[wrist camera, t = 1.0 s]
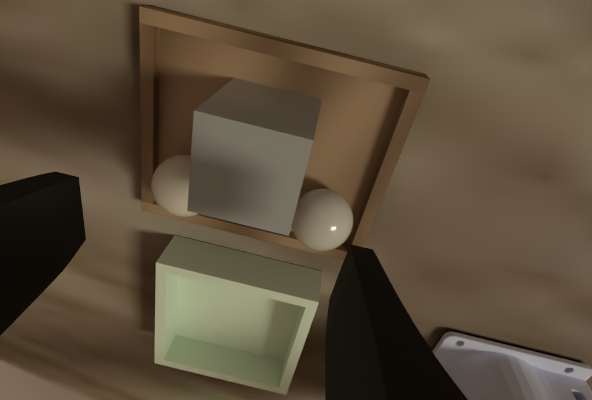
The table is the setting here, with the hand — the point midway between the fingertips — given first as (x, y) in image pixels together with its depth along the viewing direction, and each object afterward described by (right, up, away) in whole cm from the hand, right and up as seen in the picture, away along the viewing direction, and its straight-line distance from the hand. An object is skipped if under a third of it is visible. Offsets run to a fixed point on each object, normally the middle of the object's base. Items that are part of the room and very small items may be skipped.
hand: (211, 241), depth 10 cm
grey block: (+1, +4, +8) cm, 9 cm away
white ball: (+4, +1, +9) cm, 10 cm away
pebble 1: (-3, +2, +9) cm, 10 cm away
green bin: (-2, -6, +14) cm, 15 cm away
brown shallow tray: (+1, +4, +8) cm, 9 cm away
